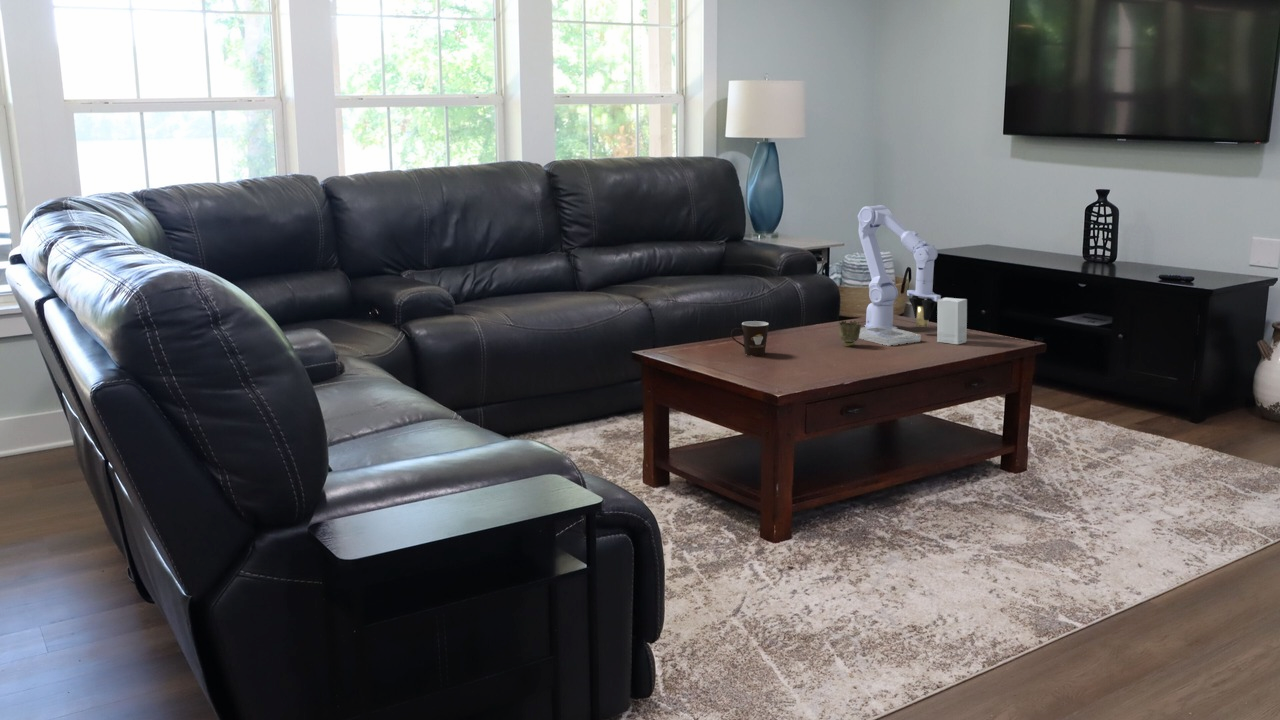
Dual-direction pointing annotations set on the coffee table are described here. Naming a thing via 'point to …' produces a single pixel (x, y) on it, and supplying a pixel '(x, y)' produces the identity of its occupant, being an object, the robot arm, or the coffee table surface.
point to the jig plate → (888, 335)
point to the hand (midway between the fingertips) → (922, 318)
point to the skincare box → (952, 320)
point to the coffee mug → (753, 337)
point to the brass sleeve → (921, 317)
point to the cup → (849, 332)
